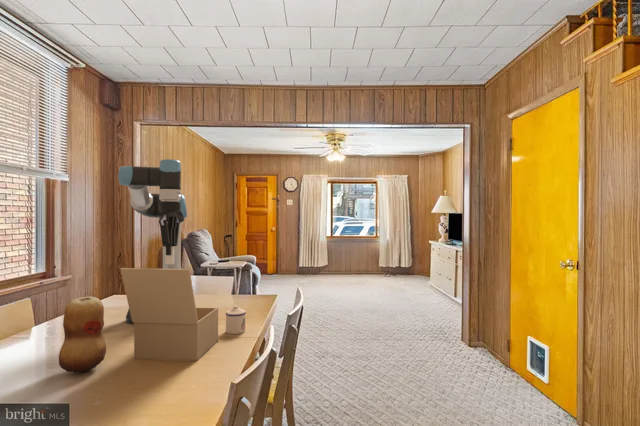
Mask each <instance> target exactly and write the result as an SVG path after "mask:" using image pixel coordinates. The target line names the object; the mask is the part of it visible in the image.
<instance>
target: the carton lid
mask: <svg viewBox="0 0 640 426" xmlns="http://www.w3.org/2000/svg"><path fill="white" fill-rule="evenodd" d="M120 273H121V278H122V282H123V287H124V291H125V295H126V300H127V304H128V309H129V310H130V314H131V318H132V322H135V323H175V324H198V318H197V312H196V308H197V306H196V300H195V299H196V298H195V295H194V289H193V287H194V286H193V282H192V281H193V280H192V275H191V269H190V268H181V269H163V268H154V267H153V268H148V267H147V268H145V267H143V268H142V267H140V268H139V267H135V268H134V267H121V268H120Z"/></svg>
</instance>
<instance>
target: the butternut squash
mask: <svg viewBox="0 0 640 426" xmlns="http://www.w3.org/2000/svg"><path fill="white" fill-rule="evenodd" d="M104 313H105V308H104V305H103V302H102V300H100V299H99V298H98V297H95V296H81V297H76V298H74V299H72V300H71V301H69V302H68V303H67V304H66V306H65V309H64V313H63V314H64V315H63V321H62V327H63V332H64V334H63V335H64V340H63V343H62V345H61V348H60V350H59V352H58V365H59V367H60V368H61V369H62V370H64V371H65V372H67V373H75V374H76V373H79V374H83V373H87V372H90V371H92V370H93V369H95V368H96V367H97V366H98V365H100V364H101V363H102V362H103V361H104V360H105V356H106V354H107V344H106V341H105V338H104V334H103V328H104V325H105V320H104Z"/></svg>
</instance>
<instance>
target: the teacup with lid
mask: <svg viewBox="0 0 640 426" xmlns="http://www.w3.org/2000/svg"><path fill="white" fill-rule="evenodd" d="M232 307H233V308H231V309H228V310H227V311H225V314H224V315H225V332H226V334H228V335H240V334H243V333H245V331H246V313H247V312H246V310H245V309H242V308H241V307H239V306H238V305H233V306H232Z"/></svg>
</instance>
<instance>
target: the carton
mask: <svg viewBox="0 0 640 426" xmlns="http://www.w3.org/2000/svg"><path fill="white" fill-rule="evenodd" d="M196 312H197V318H198V324H175V323H135V322H134V324H133V325H134V326H133V327H134V328H133V329H134V332H133V334H134V335H133V337H134V338H133V340H134V341H133V342H134V343H133V347H134V348H133V349H134V350H133V354H134V355H133V356H134V357H133V359H134V360H155V361H156V360H158V361H182V362H185V361H186V362H199V360H200V359H201V358H202V357H203V356H204V355H205V354H206V353H207V352H209V350H211V348H213V347H214V346H215V345H216V344H217V343H219V307H196Z"/></svg>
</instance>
